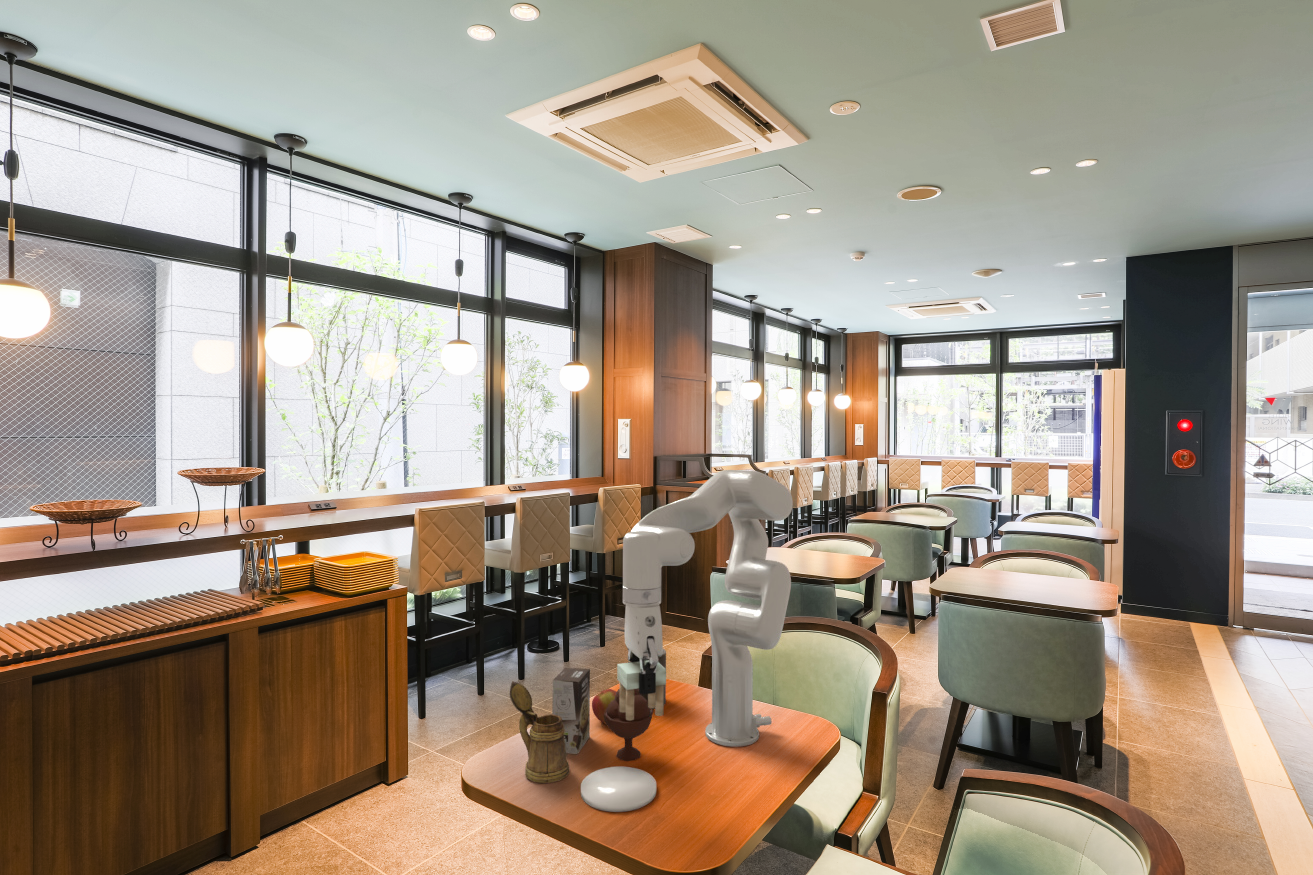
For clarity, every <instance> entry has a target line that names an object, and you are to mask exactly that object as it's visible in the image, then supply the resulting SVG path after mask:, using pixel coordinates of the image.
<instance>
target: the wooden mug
mask: <svg viewBox="0 0 1313 875" xmlns="http://www.w3.org/2000/svg"><path fill="white" fill-rule="evenodd" d="M509 686H510V688H509V700H510V701H511V703H512V705H513V707H514V708H515V709H516V710H517V711H518V712H520V713H521V716H520V718H519V720H518V721H519V724H518V728H519V733H520V736H521V740H522V741H523V743H524V745H525V747H526V750H527V756H528V758H527V761H526V763H525V768H524V769H525V770H524V772H525V774H524V775H525V777H526V779H528V780H529V781H532V782H533V783H537V784H550V783H551V784H552V783H556V782H560V781H562V780H563V779H565V778H566V777H567V776H569V774H570V767H569V766H570V764H569V762H568V756H567V753H566V748H565V740H564V733H565V730H564V725H563V723H562V718H561V717H560V716H558V715H553V714H552V713H551V714H550V713H549V714H545V715H541V716H538V714H537V713H536V712H534V709H533V708H532V707H533V698H532V695H531V693H530V691H529V690H528V689H527V687H526V686H524V685H523V684H522V683H520V682H517V681H514V680H513V681H511V683H510V685H509ZM530 725H531V726H530ZM528 726H530V729H529V732H528Z"/></svg>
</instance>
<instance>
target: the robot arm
mask: <svg viewBox="0 0 1313 875" xmlns="http://www.w3.org/2000/svg"><path fill="white" fill-rule="evenodd" d="M793 504H794V503H793V496H792V494H791V492H790V489H788V488H787V487H786V485H784V484H782V483H781V482H779V481H777V480H776V479H774V478H773V477H770V476H769V475H767V474H765V473H762V472H760V471H757V470H742V469H741V470H740V469H737V470H736V469H725V470H720V471H718V472H715V474H713V475H712V476H711V477H709V479H708V480H706V481H705V482H704V483H703V484H702V485H701V486H699V488H697V489H696V490H695V491H694V492H693V493H692V494H690V495H689V496H687V497H684V498H681V499H679V500H676V501H673V502H671V503H668V504H666V505H662V506H660V507H657V508H656V509H654V510H652V511H650V512H649V513H648V514H646V515H645V516H643V518H642V519H640V520H639V521H638V522H637V523H636V524H635V525H634V526H633V527H632V529H631V530H630V531H629V532H627V533H625V535H624V537H623V538H622V540H623V542H622V604H623V605H624V606H625V610H624V611H625V614H624V644H625V646H626V648H627V663H630V661H631V662H638V661H640V668H641V673H639V693H640V694H641V695H644V694H651V693H655V692H656V666H657V663H658V657H661V656H662V654H663V649H664V646H663V625H662V614H661V606H660V604H661V603H662V567H665V566H672V567H673V566H675V567H676V566H682V565H683V564H686V563H687V562H689V560H691V558H692V557H693V556H694V555H693V554H694V552H695V547H696V544H695V540H694V538H693V536H692V534H691V533H697V532H701V531H707V530H709V529H712V528H713V527H715V526H716V525H717V524H719V523H720V521H721V520H722V519H723V518H725V516H726V515H727V514H728V516H729V518H730V521H731V525H732V528H733V541H732V546H731V549H730V550H731V551H730V555H729V558H728V564H727V566H726V571H725V577H724V587H725V589H726V591H727V592H728V593H730V594H731V595H733V596H737V597H741V598H747V599H752V600H757V601H761V604H760V605H758V604H754V603H749V602H743V601H739V600H732V599H731V600H729V599H728V600H727V599H725V600H719V601H717V602H715V603H714V604H713V605H712V606H711V608H710V610H709V613H708V617H707V622H708V623H707V624H708V631H709V637H710V642H711V644H710V645H711V654H712V656H711V658H712V661H711V663H712V667H711V691H712V692H711V722H710V723H709V724H708V725H706V727H705V729H704V730H705V737H706V738H707V739H708V740H709V741H711V742H713V743H714V744H717V745H721V746H724V747H734V748H735V747H739V748H740V747H746V746H749V745H752V744H754V743H756V742H758V740H759V738H760V730H759V729H758V728H760V727H761V726H771V725H772V718H771V716H770V715H766V716H762V714H761V713H757V714H753V705H754V704H753V700H754V699H753V694H754V693H753V686H754V685H753V684H754V683H753V682H754V681H753V678H754V675H753V670H754V668H753V667H754V665H753V659H752V658H753V657H752V654H751V651H750V649H749V648H755V649H760V650H767V651H769V650H773V649H775V647H776V646H777V645H778V643H779V641H780V640H781V639H780V638H781V636H782V632H783V630H784V629H783V628H784V623H785V618H786V613H787V609H788V605H789V600H790V594H791V589H792V588H791V587H792V579H791V573H790V570H789V568H788V567H787V566H786V565H785V564H784V563H783V562H780V561H777V560H772V559H771V560H770V559H767V551H768V547H769V538H768V534H767V532H766V530H765V528H764V526H763V525H762V523H761V522H760V520H765V521H774V522H775V521H776V522H778V521H784V520H785V519H786V518H788V517H789V516H790V514H791V513H792V510H793V506H794V505H793ZM643 653H648V654H649V656H644V655H643ZM648 659H649V662H647V663H646V665H645V663H644V660H648Z"/></svg>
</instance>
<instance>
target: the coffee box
mask: <svg viewBox="0 0 1313 875" xmlns="http://www.w3.org/2000/svg"><path fill="white" fill-rule="evenodd" d="M590 684H591V669H590V668H582V667H581V668H579V667H577V668H576V667H565V668H563V669H562V670H561V671H560V673H558V674H557V675H556V677H554V678H553V679H552V712H551V714H553V715H558V716H560V717H561V718H562V723H563V725H564V730H565V733H564V740H565V748H566V754H571V755H572V754H573V755H578V754H579V753H580V751H581V750H582V749H583V747H584V746H585V744H586V743H587V741H588V740H589V739H590V738H591V737H590V735H591V733H590V732H591V731H590V728H591V725H590V724H591V723H590V722H591V721H590V720H591V719H590V714H591V712H590V709H591V708H590V707H591V703H590V702H591V701H590V700H591V698H590V697H591V694H590V692H591V689H590V687H591V685H590Z"/></svg>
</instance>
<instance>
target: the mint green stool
mask: <svg viewBox="0 0 1313 875" xmlns="http://www.w3.org/2000/svg"><path fill="white" fill-rule="evenodd" d="M629 662H630V661H629ZM647 662H649V660H647V661H644V663H645V665H646V663H647ZM616 665H617V666H616V667H617V669H616V670H617V672H616V673H617V674H616V675H617V677H616V678H617V680H618V682H619V688H620V699H619V711H620V712H626V720H629V721H630V720H634V689H637V688H639V673H641V668H640V661H638V662H630V663H628V662H623V663H621V662H620V663H617V664H616ZM664 685H666V686H667V667H666V668H664V667H663V666H662V665H661V664H660V663H659V662H658V663H657V666H656V692H655V693H651V694H648V707H649V708H655V709H654V715H655V716H657V717H662V716H664V706H663V690H664Z"/></svg>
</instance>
